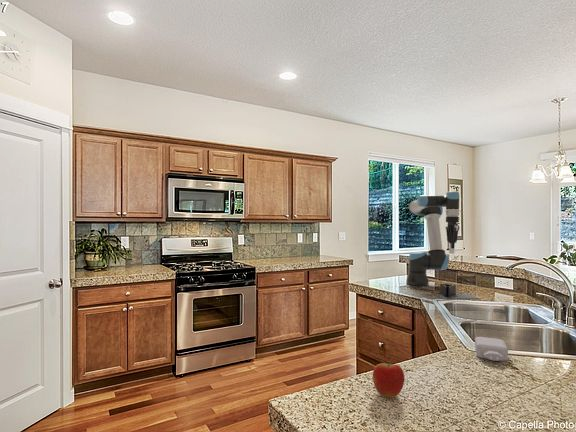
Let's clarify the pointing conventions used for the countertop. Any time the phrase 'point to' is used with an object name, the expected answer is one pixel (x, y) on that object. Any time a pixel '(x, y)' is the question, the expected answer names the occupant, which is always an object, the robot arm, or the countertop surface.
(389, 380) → the apple
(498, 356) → the charger
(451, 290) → the phone stand
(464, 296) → the mat
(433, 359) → the countertop surface
